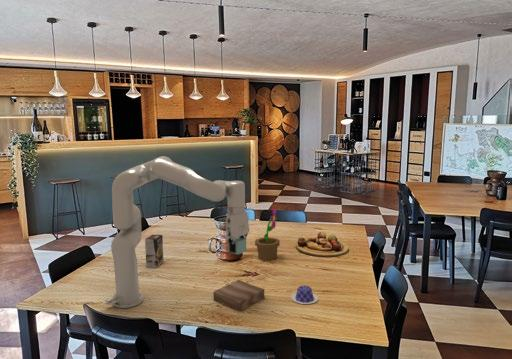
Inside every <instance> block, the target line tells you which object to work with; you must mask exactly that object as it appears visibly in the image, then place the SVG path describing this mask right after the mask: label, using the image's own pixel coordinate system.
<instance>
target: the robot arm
mask: <svg viewBox="0 0 512 359" xmlns="http://www.w3.org/2000/svg"><path fill="white" fill-rule="evenodd" d="M157 179H160V180H162V181H165V182H168V183H171V184H173V185H175V186H178V187H180V188H184V190H186V191H188V192H191V193H193V195H196V196H198V197H201V198H204V199H206V200H208V201H211V202H221V201H223V200H224V199H225V197H226V198H227V209H226V212H227V214H226V219H225V220H226V221H225V222H226V223H225V234H224V236H223V239H224V240H225V241H226V242H227V243H229V247H228V252H229V251H230V252H229V253H231V252H232V253H231V254H234V253H235V252H236V248H235V244H234V243H235V238H237V237H240V238H244V239H246V240H247V237H248V235H249V232H250V227H249V216H248V212H247V211H246V188H245V187H246V186H245V185H246V184H245V182H244V181H242V180H230V181H229V180H222V179H220V180H219V179H218V180H214V181H211V180H209V179H207V178H204V177H202V176H200V175H198V174H197V173H196V172H195V171H194V169H192V168H190V167H188V166H185V165H181V164H179V163H176V162H174V161H173V159H171V158H170V157H168V156H165V155H163V156H159V157H156V158H154V159H152V160H150V161H149V160H148V161H147V162H145V163H141V164H138V165H136V166H133V167H131V168H128V169H127V170H124V171H123V172H120V173H119V174H118V175H116V177H115V179H114V180H113V182H112V185H111V198H112V202H111V203H112V204H111V206H112V208H111V209H112V223H113V225H114V227H115V228H116V229H117V230H119V232H118V233H117V234H116V235H115V236H114V237H113V239H112V241H111V245H110V248H111V253H112V259H113V269H114V280H115V293H114V294H113V296H112V297H111V298H107V299H106V300H105V304H106V305H110V304H111V305H113V306H114V307H115V308H118V309H129V308H133V307H136V306H139V305H140V304H142V303H143V301H144V295H142V294H141V293H140V285H139V284H140V283H139V271H138V270H139V268H138V258H137V253H136V247H137V246H138V245H139V244H140V242H141V240H142V213H141V210H140V208H139V207H138V206H137V205H136V204H134V194H133V192H134V190H135V189H138V188H140V187H142V186H143V185H145V184H147V183H150V182H153V181H155V180H157ZM232 238H233V239H232ZM231 239H232V240H231Z"/></svg>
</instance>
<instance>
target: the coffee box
mask: <svg viewBox="0 0 512 359" xmlns="http://www.w3.org/2000/svg"><path fill="white" fill-rule="evenodd" d="M163 238H164V237H163V234H151V235H150V236H148V237H146V238H145V239H144V244H145V246H144V248H145V266H146V268H154V269H157V268H158V267H159V266H161V265H162V264H164V262H165V261H164V242H163V240H164V239H163Z"/></svg>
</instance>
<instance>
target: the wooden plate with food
mask: <svg viewBox="0 0 512 359" xmlns="http://www.w3.org/2000/svg"><path fill="white" fill-rule="evenodd" d="M295 248H296V250H297V251H298V252H300V253H303V254H304V255H307V256H309V257H310V256H311V257H315V258H336V257H337V258H338V257H340V256H344V255H345V254H346V255H347V253H348V252H349V246H348V244H346V243H345V242H343V241H341V240H338V237H337V236H336V235H335V234H330V235H328V237H327V235H326V232H323V231H319V232H318V234H317V236H316V237H306V238H304V237H303V236H300V237H298V238H297V242H296V244H295Z"/></svg>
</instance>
